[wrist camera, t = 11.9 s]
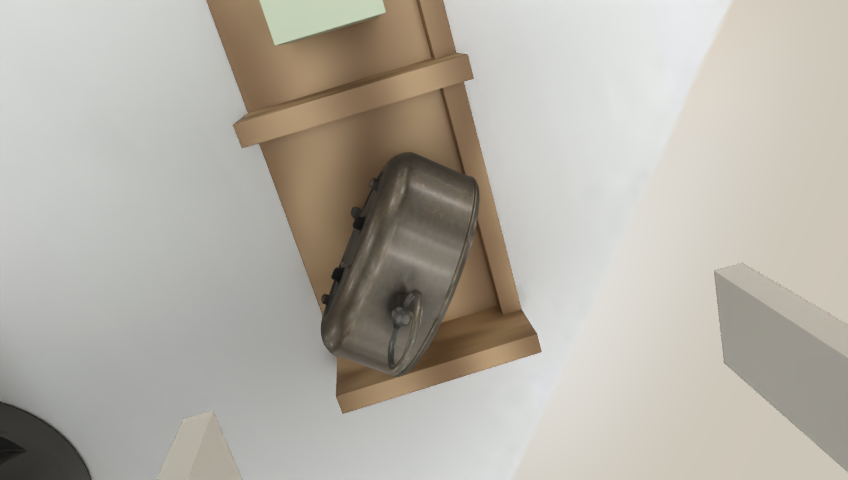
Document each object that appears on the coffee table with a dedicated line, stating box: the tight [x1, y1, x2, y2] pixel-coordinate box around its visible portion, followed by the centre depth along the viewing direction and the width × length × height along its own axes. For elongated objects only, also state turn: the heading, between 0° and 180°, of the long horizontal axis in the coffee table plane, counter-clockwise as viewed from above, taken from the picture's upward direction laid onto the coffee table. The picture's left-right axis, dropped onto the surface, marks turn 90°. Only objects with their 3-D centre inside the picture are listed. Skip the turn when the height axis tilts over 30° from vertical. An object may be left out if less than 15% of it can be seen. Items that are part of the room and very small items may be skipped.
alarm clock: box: [321, 152, 480, 377], centre depth 31 cm, size 11×5×16 cm, turn 156°
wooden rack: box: [207, 0, 541, 414], centre depth 35 cm, size 12×33×6 cm, turn 16°
